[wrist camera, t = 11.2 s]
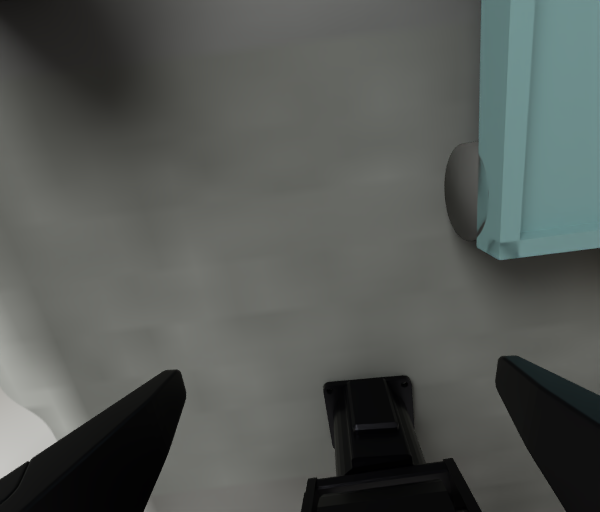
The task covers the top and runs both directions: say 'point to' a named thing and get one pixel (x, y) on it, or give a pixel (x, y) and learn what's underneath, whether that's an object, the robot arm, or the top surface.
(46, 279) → the top surface
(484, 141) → the teal toy wagon
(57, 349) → the top surface
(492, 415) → the top surface
